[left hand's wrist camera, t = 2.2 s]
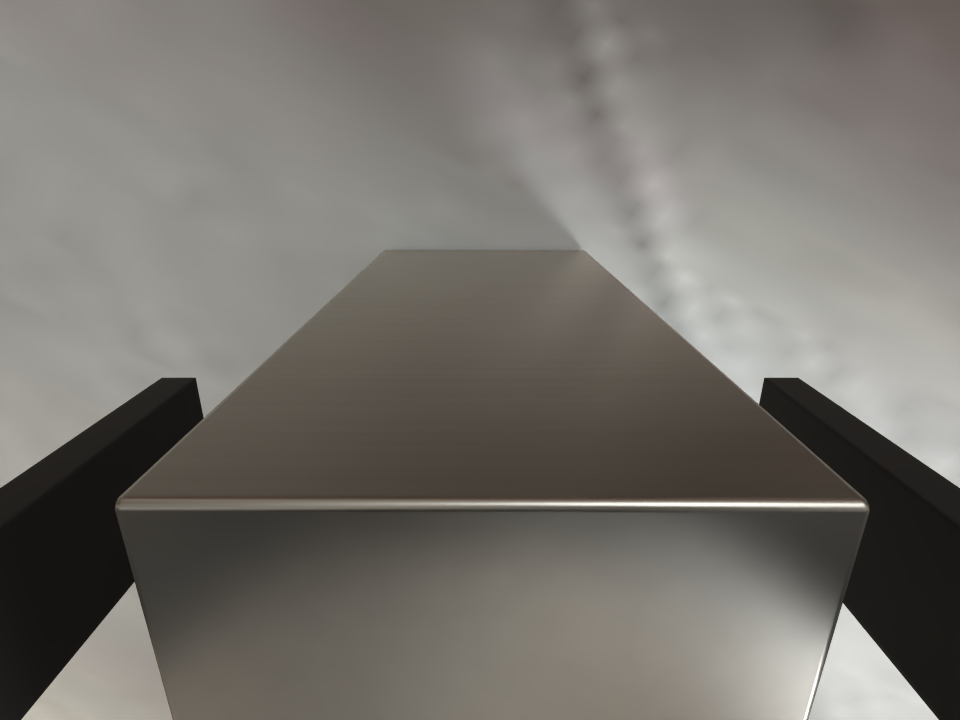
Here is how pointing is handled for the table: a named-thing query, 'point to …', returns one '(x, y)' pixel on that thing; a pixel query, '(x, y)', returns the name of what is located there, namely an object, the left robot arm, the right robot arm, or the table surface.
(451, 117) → the table surface
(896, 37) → the table surface
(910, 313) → the table surface
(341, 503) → the box
